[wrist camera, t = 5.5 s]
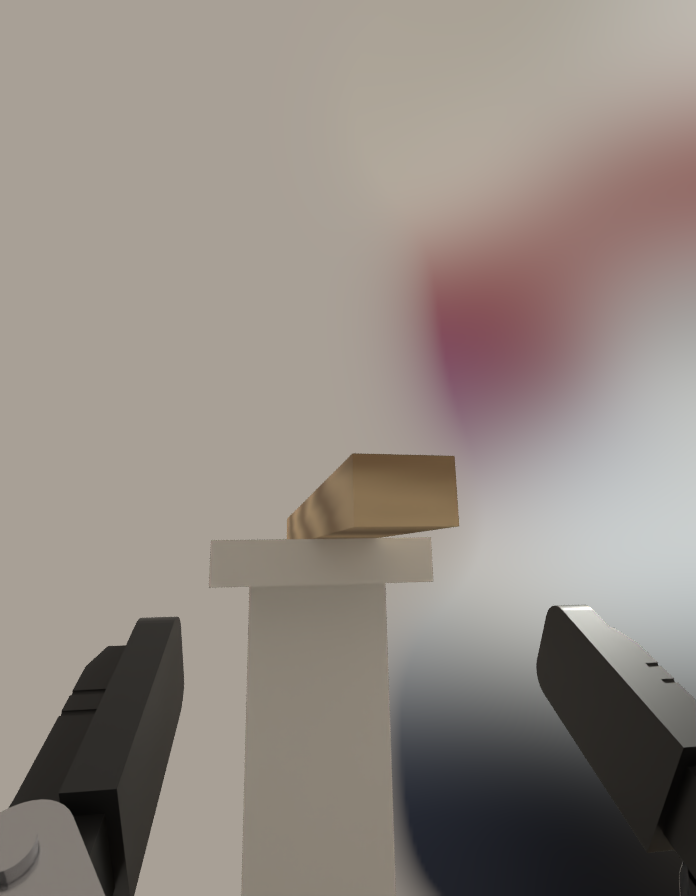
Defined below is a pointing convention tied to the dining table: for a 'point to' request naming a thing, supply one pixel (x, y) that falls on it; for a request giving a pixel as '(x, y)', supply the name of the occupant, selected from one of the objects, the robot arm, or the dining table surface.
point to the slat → (380, 498)
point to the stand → (318, 710)
